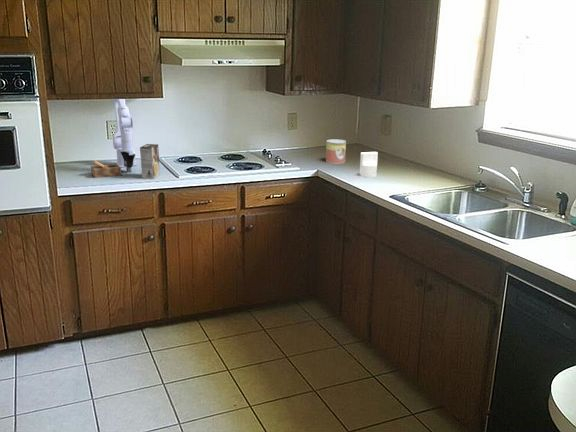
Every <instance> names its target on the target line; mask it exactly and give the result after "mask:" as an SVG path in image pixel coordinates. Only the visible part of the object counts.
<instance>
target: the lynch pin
mask: <svg viewBox="0 0 576 432" xmlns="http://www.w3.org/2000/svg"><path fill="white" fill-rule="evenodd" d="M123 163H124V166H125V167H126V173H132V167H133V165H132V167H129V168H128V166H127V162H126V161H123Z"/></svg>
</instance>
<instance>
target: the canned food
mask: <svg viewBox="0 0 576 432" xmlns="http://www.w3.org/2000/svg"><path fill="white" fill-rule="evenodd" d="M346 145H347V141H346V140H345V139H337V138H335V139H333V138H332V139H326V147H325V150H326V151H325V162H326V163H328V164H334V165H335V164H336V165H337V164H338V165H339V164H344V163H346V151H347V150H346V149H347V146H346Z"/></svg>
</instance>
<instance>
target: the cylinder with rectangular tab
mask: <svg viewBox="0 0 576 432" xmlns="http://www.w3.org/2000/svg"><path fill="white" fill-rule="evenodd" d="M378 156H379V153H378V151H367V152H366V151H365V152H360V160H359V176H360V177H364V178H375V177H377V176H378V175H377V174H378V159H379V158H378Z"/></svg>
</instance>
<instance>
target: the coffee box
mask: <svg viewBox="0 0 576 432" xmlns="http://www.w3.org/2000/svg"><path fill="white" fill-rule="evenodd" d="M139 151H140V152H139V153H140V168H141V178H142V179H147V180H153V179H156V178H157V177H159V176H160V175H161V171H160V170H161V168H160V153H159V151H160V150H159V144H157V143H155V144H154V143H153V144H152V143H146V144H144V145H142V146H141V147H140V148H139Z"/></svg>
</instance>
